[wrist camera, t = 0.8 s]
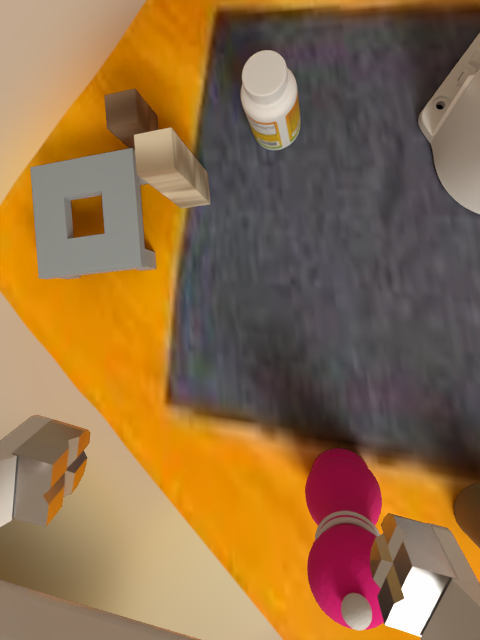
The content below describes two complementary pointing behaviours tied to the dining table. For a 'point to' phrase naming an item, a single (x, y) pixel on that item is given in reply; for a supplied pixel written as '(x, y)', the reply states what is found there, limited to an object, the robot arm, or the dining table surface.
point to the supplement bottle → (270, 100)
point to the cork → (469, 512)
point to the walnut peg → (129, 116)
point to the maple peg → (171, 168)
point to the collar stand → (118, 212)
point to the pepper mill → (344, 538)
